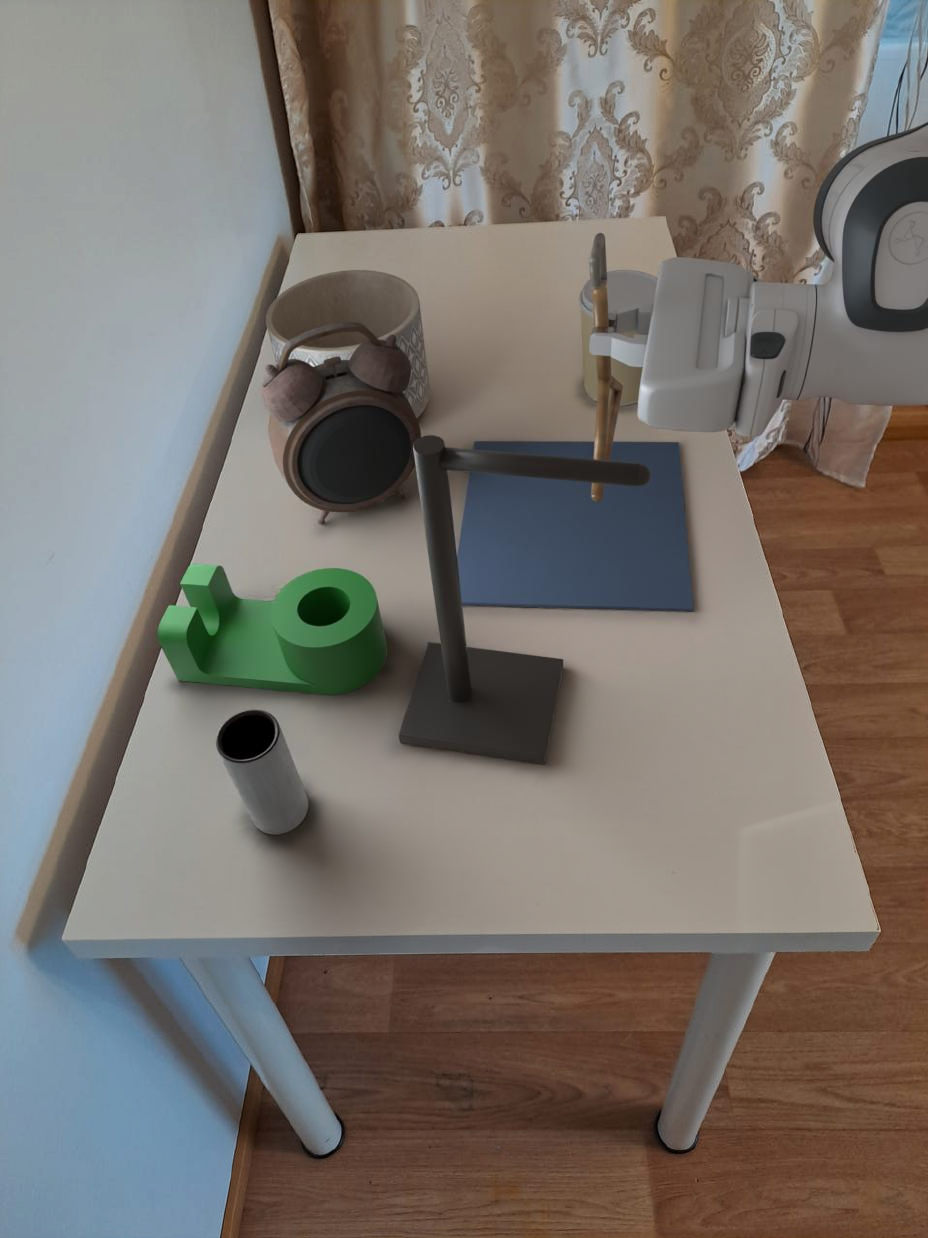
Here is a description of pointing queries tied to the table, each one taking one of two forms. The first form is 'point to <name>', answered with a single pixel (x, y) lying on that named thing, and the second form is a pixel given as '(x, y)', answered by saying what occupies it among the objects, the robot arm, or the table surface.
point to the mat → (577, 535)
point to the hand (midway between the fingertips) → (592, 331)
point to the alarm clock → (342, 422)
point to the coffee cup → (621, 294)
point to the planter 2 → (353, 299)
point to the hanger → (602, 364)
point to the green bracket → (277, 633)
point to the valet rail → (452, 672)
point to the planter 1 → (263, 770)
